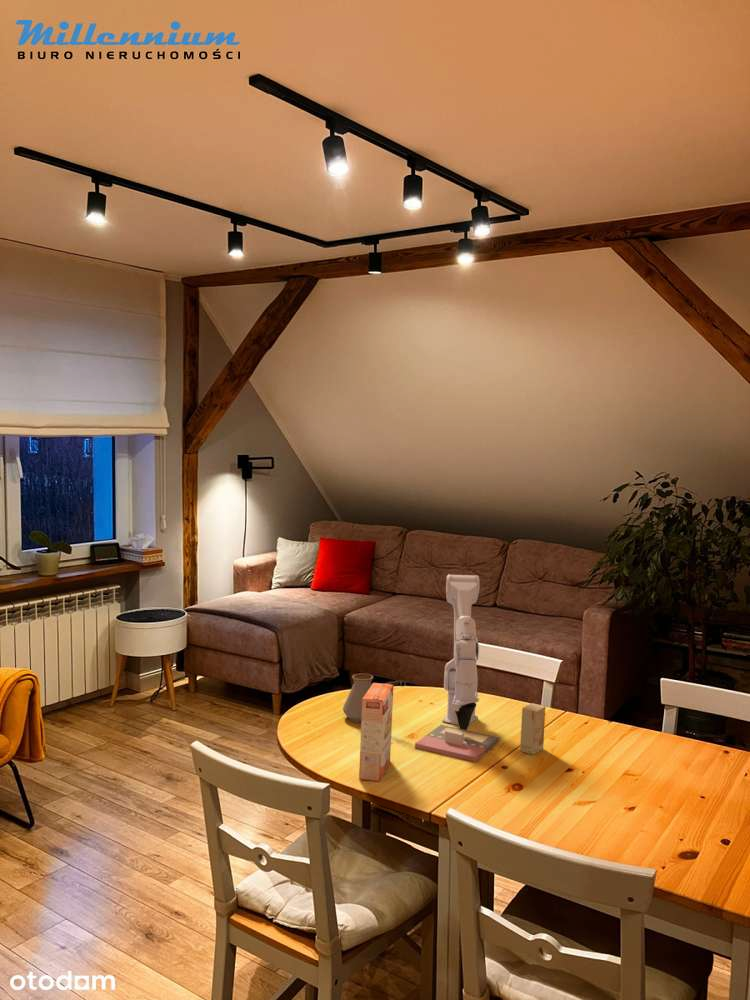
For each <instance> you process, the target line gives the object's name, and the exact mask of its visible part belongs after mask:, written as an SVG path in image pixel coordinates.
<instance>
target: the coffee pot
mask: <svg viewBox="0 0 750 1000" xmlns="http://www.w3.org/2000/svg"><path fill="white" fill-rule="evenodd" d="M351 678H352V679H353V685H352V687H351V689H350V692H349V693H348V696H347V698H346V699H345V702H344V703H343V704H344V705H343V707H342V710H343V713H344V715H345V716H346V717H347V718H348V719H349V720H350V721H352V722H354V723H361V717H362V699H363V697H364V696H365V694H366V693H367V691H368V690H369V688H370V687H371V685H372V681H373V679H374V675H372V674H369V673H356V674H355V673H354V674H352V676H351ZM402 683H404V686H402ZM384 684H391V685H399V684H400V687H401V688H405V687H406V686H407V685H406V681H405V680H404V679H399V680H397V679H396V680H395V681H388V682H386V683H384Z"/></svg>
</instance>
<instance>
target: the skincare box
mask: <svg viewBox="0 0 750 1000" xmlns="http://www.w3.org/2000/svg"><path fill="white" fill-rule="evenodd" d="M545 721H546V706H544V705H541V704H538V703H534V702H532V703H529V704H528V705H526V706H524V707H522V709H521V726H520V727H521V728H520V729H521V730H520V744H519V745H520V747H519V751H520V752H523V753H526V754H529V755H533V756H534V755H536V754H538V753H539V752H541V751H543V749H544V741H545V724H546V723H545ZM540 750H541V751H540Z"/></svg>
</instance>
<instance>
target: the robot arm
mask: <svg viewBox="0 0 750 1000" xmlns="http://www.w3.org/2000/svg"><path fill="white" fill-rule="evenodd" d="M480 587H481V586H480V577H479V576H478V575H477V574H475V575H473V574H472V575H471V574H470V575H467V574H465V575H464V574H450V573H448V574H447V575H446V580H445V593H446V595H445V598H446V602H447V603H449V604H450V605H452V609H453V613H454V614H453V615H454V616H453V658H452V659H451V660H450V661H448V662H446V663H445V665H444V673H443V689H444V690H445V691H447V714H446V716H445V717H444V718H443V719H442V720H441V721H442V723H448V724H452V725H457V726H458V728H459V729H464V730H468V729H469V727H470V724H472V723H473V722H474V721H475V720H477V719H478V718H479V716H478V715H476V707H477V703H478V702H480V698H478V696H479V695H478V691H479V690H478V683H479V682H478V680H479V679H478V668H477V661H478V660H479V656H480V655H479V654H480V646H479V645H480V644H479V640H478V636H477V630H476V629H477V627H476V621H475V619H474V618H472V605H474V604H476V603H477V600H478V598H479V594H480Z"/></svg>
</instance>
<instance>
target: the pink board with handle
mask: <svg viewBox="0 0 750 1000" xmlns="http://www.w3.org/2000/svg"><path fill="white" fill-rule="evenodd" d="M414 748H415V749H419V750H420V749H421V750H424V751H428V752H431V753H432V752H433V753H436V754H441V755H445V756H449V757H454V758H458V759H463V760H465V761H466V760H467V761H470V762H475V763H476V762H478V761H479V760H480V759H481V758H482V757H483V756H484V755H485V754H487V753H486V749H484V748H480V747H476V746H471V745H467V744H464V733H461V732H456V731H452V730H446V731H445V739H440V738H436V737H431V736H427V734H426V735H424V736H422V737H421V738H420V739H419V740H418V741H416V742H415V743H414Z"/></svg>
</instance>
